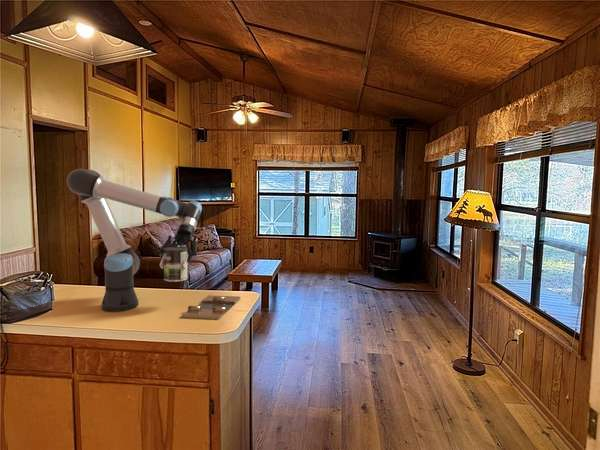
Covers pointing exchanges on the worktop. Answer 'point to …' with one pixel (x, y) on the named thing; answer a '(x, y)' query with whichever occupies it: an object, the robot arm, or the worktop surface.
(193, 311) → the hinge leaves
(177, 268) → the coffee can
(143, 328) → the worktop surface
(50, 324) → the worktop surface
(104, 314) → the worktop surface
